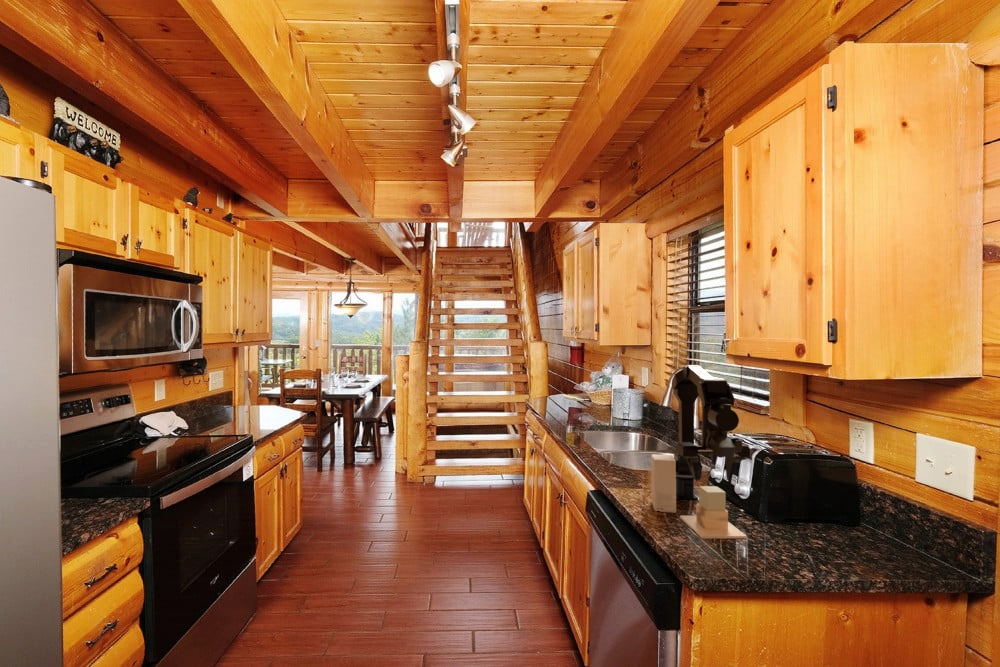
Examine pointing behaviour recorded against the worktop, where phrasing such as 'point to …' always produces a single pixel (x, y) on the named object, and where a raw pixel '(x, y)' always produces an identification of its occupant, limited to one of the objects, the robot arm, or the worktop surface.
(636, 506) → the worktop surface
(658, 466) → the skincare box
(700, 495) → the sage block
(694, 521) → the baseplate
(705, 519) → the maple block
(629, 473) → the worktop surface
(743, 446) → the robot arm
